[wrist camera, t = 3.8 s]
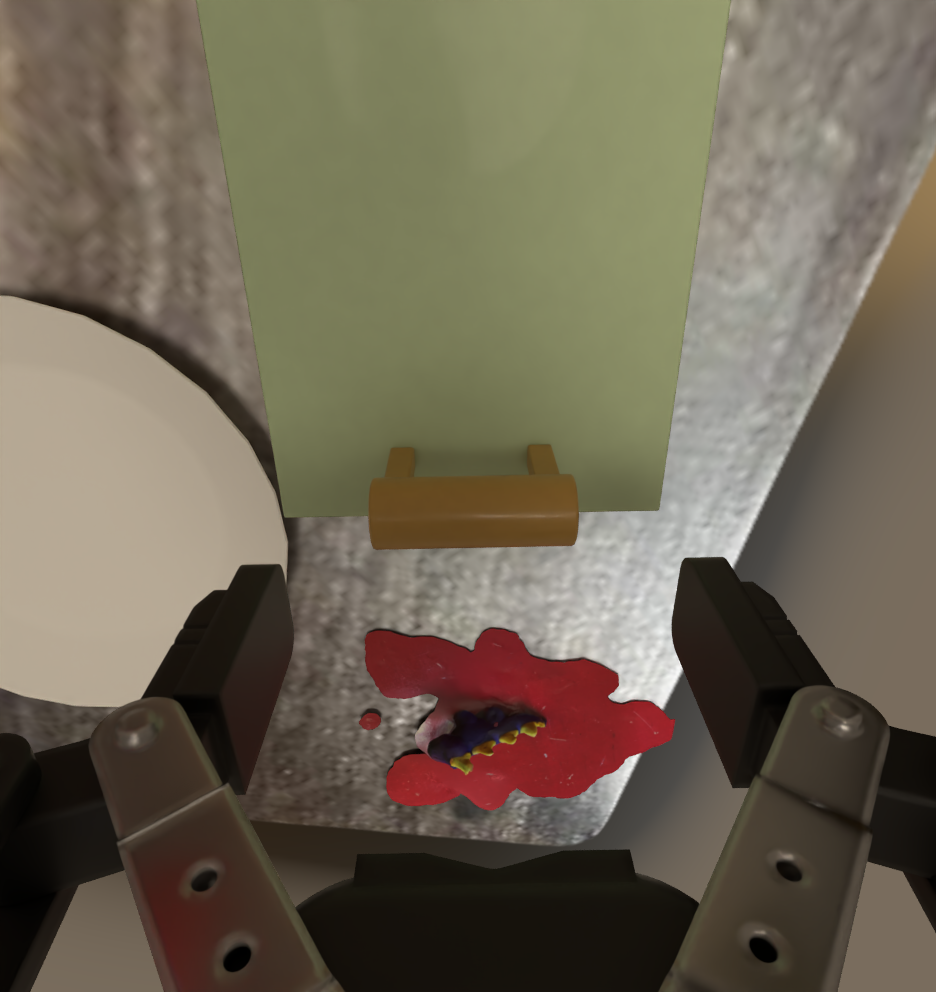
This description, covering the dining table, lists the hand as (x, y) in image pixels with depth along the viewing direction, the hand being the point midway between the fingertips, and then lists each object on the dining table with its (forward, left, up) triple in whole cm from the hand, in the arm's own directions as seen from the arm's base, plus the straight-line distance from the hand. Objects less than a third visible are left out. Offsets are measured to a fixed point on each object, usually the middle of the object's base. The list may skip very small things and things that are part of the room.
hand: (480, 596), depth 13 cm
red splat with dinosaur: (+2, -22, -18) cm, 28 cm away
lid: (0, +5, -8) cm, 9 cm away
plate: (-19, -7, -17) cm, 26 cm away
